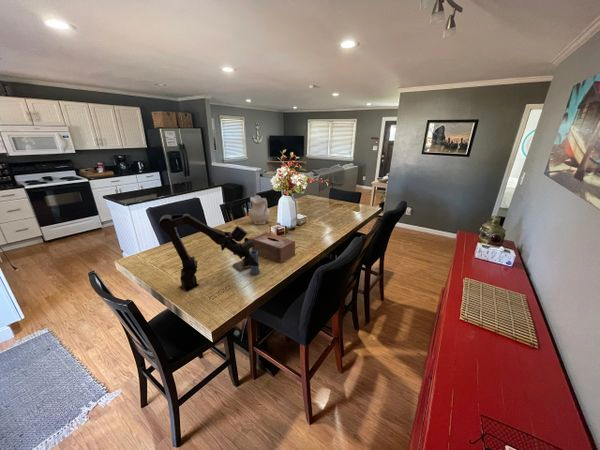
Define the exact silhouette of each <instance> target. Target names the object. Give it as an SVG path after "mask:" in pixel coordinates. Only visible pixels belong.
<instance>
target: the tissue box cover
mask: <svg viewBox="0 0 600 450" xmlns="http://www.w3.org/2000/svg"><path fill="white" fill-rule="evenodd" d="M250 239H251V240H252V241H253V243H254V244H255V246H254V247H252V248H251V251H258V256H261V257H264V258H267V259H270V260H272V261H274V262H277V263H280V264H282V263H284V262H286V261H287V260H289V259H291V258H292V257H293V256H295V255H296V240H294V239H290V238H288V237H284V236H280V235H278V234H274V233H271V232H268V231H266V232H263V233H261V234H258V235H256V236H254V237H253V236H252V238H250Z"/></svg>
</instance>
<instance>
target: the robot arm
mask: <svg viewBox="0 0 600 450" xmlns="http://www.w3.org/2000/svg"><path fill="white" fill-rule="evenodd" d="M183 225H187V226H189V227H191V228H193V229H194V230H196V231H198V232H200V233H202V234H203V235H205V236H207V237H208V238H210V240H211V241H212V242H214V243H215V244H216V245H219V246H220V249H221V252H222V251H224V250H225V249H227V250H228V251H229V252H231V253H232V254H233V255H234V256H237V257H238V258H239V259H240V260H241V261H242V262H243V265H244V266H246V267H247V266H259V267H260V264H258V263H257V262H256V261H255V260H254V256H253V255H252V254H250V253H249V252H251V251H250V249H252V247H254V246H255V244H254V243H253V241H252V240H251V238H250V237H249V238H248V237H246V236H247V235H248V232H247V231H246V230H245V229H244V228H243V227H241V226H239V225H236V226H235V228H234V229H233V230H232V231H223V230H221V229H218V228H214V227H211V226H209V225H208V224H207V223H204V222H202V221H201V220H199V219H197V218H196V217H194V216H192V215H191V214H189V213H183V214H164V215H162V216H161V217H160V219H159V221H158V226H159V228H160V229H161V231H162V232H163V233H164V234H165V235H166V236H168V238H169V240H170V242H171V243H172V246H173V247H174V249H175V250H176V253H177V255H178V257H179V259H180V261H181V264H182V268H181V270H180V284H181V285H180V286H179V287H180V289H183V290H184V291H186V292H189V291H191V290H193V289H194V288H197V287H198V286H199V283H198V281H197V276H196V274H197V272H198V261H197V260H196V257H195V256H194V255H193V256H191V255H190V253H189V252H188V251H187V248H186V246H185V244H184V242H183V240H182V239H181V237H180V234H179V232H178V230H177V227H181V226H183ZM242 240H244V241H243V242H242ZM242 259H243V260H242Z"/></svg>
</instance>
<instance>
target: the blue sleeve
mask: <svg viewBox="0 0 600 450" xmlns="http://www.w3.org/2000/svg"><path fill="white" fill-rule="evenodd" d="M249 253H250V254H252V255H253V256H254V260H255V261H256V262H257V263H258V264H259V254H258V251H252V250H251V251H250V252H249ZM250 267H251V268H250V274H251V275H252V276H257V275H259V274H260V264H259V266H250Z"/></svg>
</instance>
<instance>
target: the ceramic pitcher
mask: <svg viewBox="0 0 600 450" xmlns="http://www.w3.org/2000/svg"><path fill="white" fill-rule="evenodd" d="M249 200H250V203H251V208H250V209H249V210H248V213H247V214H248V217H249V219H250V220H251V221H252V222H253V224H254V225H265V224H267V220H269V218H270V215H271V211H270V209H269V208H268V200H267V197H261V196H260V195H258V194H256V195H254V197H252V196H250V198H249Z"/></svg>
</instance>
